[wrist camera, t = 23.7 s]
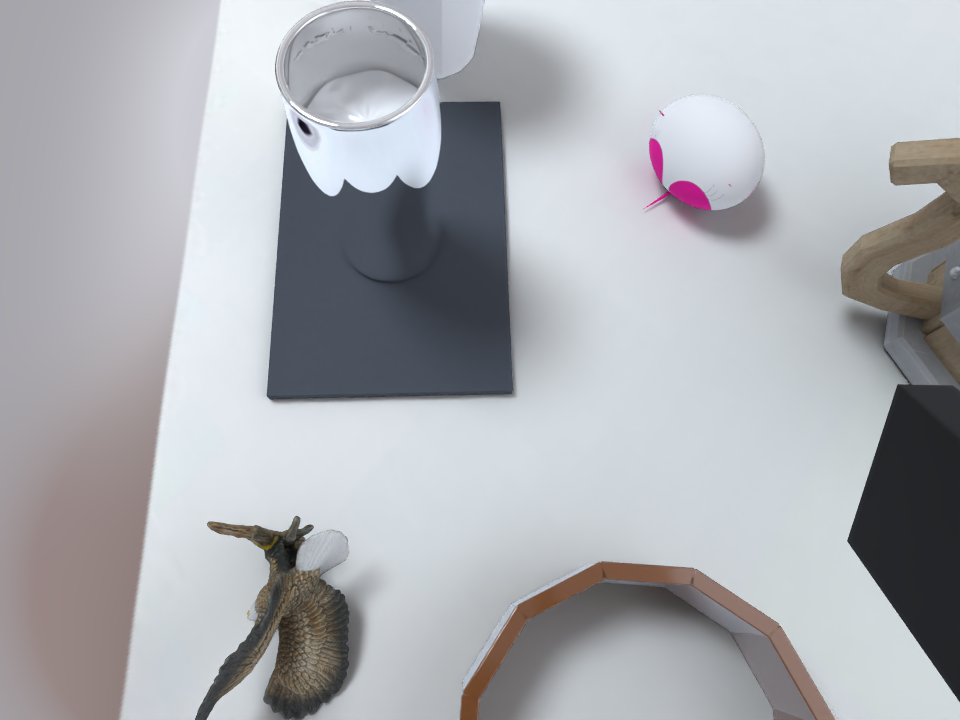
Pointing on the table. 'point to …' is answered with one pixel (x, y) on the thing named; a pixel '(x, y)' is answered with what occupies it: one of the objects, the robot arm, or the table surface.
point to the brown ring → (756, 634)
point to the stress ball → (706, 152)
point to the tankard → (916, 267)
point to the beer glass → (368, 130)
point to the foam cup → (445, 29)
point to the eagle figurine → (292, 621)
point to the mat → (398, 286)
